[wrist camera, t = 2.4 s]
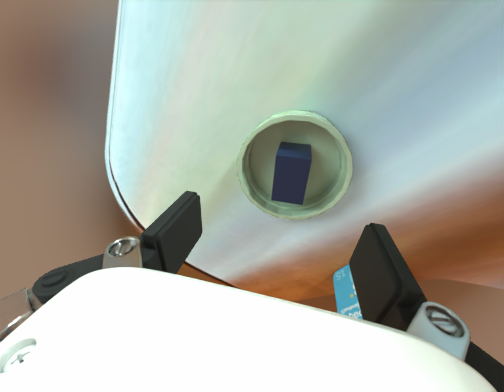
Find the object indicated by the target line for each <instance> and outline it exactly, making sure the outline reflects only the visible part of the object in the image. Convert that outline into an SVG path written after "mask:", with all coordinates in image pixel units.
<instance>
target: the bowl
mask: <svg viewBox="0 0 504 392" xmlns="http://www.w3.org/2000/svg"><path fill="white" fill-rule="evenodd" d="M281 142H290V143H299V144H309V145H311V153H312V162H311V167H310V172H309V177H308V182H307V186H306V191H305V196H304V201H303V205H298V204H292V203H285V202H279V201H272V200H271V196H272V187H273V177H274V168H275V159H276V154H277V151H278V148H279V146H280V143H281ZM352 173H353V169H352V155H351V152H350V150H349V148H348V146H347V144H346V141H345V139H344V137H343V136H342V134H341V133H340V131H339V130H338V129H337V128H336V127H335V126H334V125H333V124H332V123H331V122H330V121H329V120H328V119H326V118H324V117H322V116H320V115H318V114H315V113H313V112H311V111H301V110H289V111H285V112H281V113H277V114H274V115H272V116H271V117H269V118H268V119H266V120H264V121H263V122H261V123H260V124H259V125H258V126H257V127H256V128H255V129H254V130H253V131H252V133H251V134H250V135H249V136H248V138H247V139H246V140H245V141H244V143H243V145H242V147H241V150H240V153H239V156H238V160H237V175H238V178H239V181H240V184H241V187H242V190H243V191H244V193H245V194H246V196H247V197H248V198H249V200H250V201H251V202H252V203H253V204H254V205H256V206H257V207H258V208H259V209H260V210H262V211H263V212H265V213H268V214H270V215H272V216H274V217H278V218H284V219H290V220H297V219H308V218H311V217H314V216H316V215H319V214H322V213H324V212H325V211H327V210H328V209H330V208H331V207H333V206H334V205H335V204H337V203H338V201H339V200H340V199H341V197H342V196H343V195H344V193H345V192H346V191H347V189H348V186H349V183H350V180H351V177H352Z"/></svg>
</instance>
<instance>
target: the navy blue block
mask: <svg viewBox="0 0 504 392" xmlns="http://www.w3.org/2000/svg"><path fill="white" fill-rule="evenodd" d="M311 162H312V153H311V145H309V144H299V143H290V142H281V143H280V146H279V148H278V151H277V154H276V159H275V168H274V177H273V187H272V196H271V200H272V201H279V202H285V203H292V204H298V205H303V201H304V196H305V191H306V186H307V182H308V177H309V172H310V167H311Z"/></svg>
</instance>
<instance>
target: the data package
mask: <svg viewBox="0 0 504 392" xmlns="http://www.w3.org/2000/svg"><path fill="white" fill-rule="evenodd" d="M333 282H334V289H335V296H336V304H337V311H338V313H339V314H343V315H347V316H351V317H354V318H358V319H362V320H363V318H362V314H361V310H360V306H359V302H358V298H357V295H356V291H355V287H354V283H353V279H352V275H351V271H350V267H349V264H348V265H346V266H345V267H343V268H341V269H339V270H338V271H336V272H335V274H334V276H333Z"/></svg>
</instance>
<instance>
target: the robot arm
mask: <svg viewBox="0 0 504 392" xmlns="http://www.w3.org/2000/svg"><path fill="white" fill-rule="evenodd" d="M201 234H202V220H201V206H200V196H199V195H197V193H196V192H191V191H186V192H185V193H184V194H182V195H181V196H180V197H179V198H178V199H177V200H176V201H175V202H174V203H173V204H172V205H171V206H170V207H169V208H168V209H167V210H166V211H165V212H164V213H163V214H161V215H160V216H159V217H158V218H157V219H156V220H155V221H154V222H153V223H152V224H151V225H150V226H149V227H148V228H147V229H146V230H145V231H144V232H143V233H142V234H141V235H140V236H139V237H138V238H136V237H133V236H126V237H121V238H118V239H116V240H114V241H112V242H111V243H110V244H108V246H107V247H106V248H105V250H104V254H101V255H98V256H95V257H92V258H89V259H85V260H82V261H79V262H75V263H72V264H69V265H65V266H63V267H59V268H57V269H54V270H51V271H50V272H48V273H46V274H44V275H43V276H42V277H40V278H39V279H38V280H37V281H36V282H35V283H34V286H33V287H32V288H31V289H29V290H27V289H26V288H24V289H22V290H20V291H18V292H16V293H13V294H11V295H9V296H7V297H5V298H3V299H1V300H0V392H504V365H502V364H501V363H499V362H498V361H497V360H495V359H494V358H493V357H491V356H490V355H489V354H487V353H486V352H485V351H483V350H482V349H481V348H479V347H478V346H476V345H475V344H474V343H473V342H471V341H470V339H471V333H470V331H469V329H468V327H467V325H466V324H465V323H464V321H463V320H462V319H461V318H460V317H459V316H458V315H457V314H455V313H454V312H453V311H451V310H450V309H448V308H446V307H445V306H443V305H441V304H438V303H435V302H428V301H427V299H426V298H425V296H424V294H423V292H422V290H421V288H420V287H419V285H418V283H417V282H416V280H415V278H414V276H413V275H412V273H411V271H410V269H409V268H408V266H407V264H406V262H405V261H404V259H403V257H402V255H401V254H400V252H399V250H398V248H397V247H396V245H395V243H394V241H393V240H392V238H391V236H390V234H389V233H388V231H387V229H386V227H385V226H384V225H381V224H375V223H370V224H369V225H366V226H365V228H364V230H363V232H362V234H361V237H360V239H359V241H358V243H357V246H356V248H355V250H354V252H353V254H352V257H351V259H350V262H349V267H350V271H351V275H352V279H353V283H354V287H355V291H356V295H357V298H358V302H359V306H360V310H361V314H362V318H363V320H362V319H358V318H354V317H351V316H347V315H343V314H339V313H335V312H330V311H327V310H322V309H318V308H314V307H310V306H306V305H302V304H298V303H294V302H290V301H286V300H282V299H278V298H274V297H269V296H265V295H261V294H257V293H253V292H249V291H244V290H240V289H236V288H232V287H228V286H223V285H219V284H215V283H211V282H206V281H202V280H198V279H193V278H189V277H185V276H180V275H176V273H177V272H178V270H179V269H180V267H181V266H182V264H183V263H184V261H185V260H186V258H187V257H188V255H189V253H190V252H191V250H192V249H193V247H194V246H195V244H196V243H197V241H198V240H199V238H200V237H201Z"/></svg>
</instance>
